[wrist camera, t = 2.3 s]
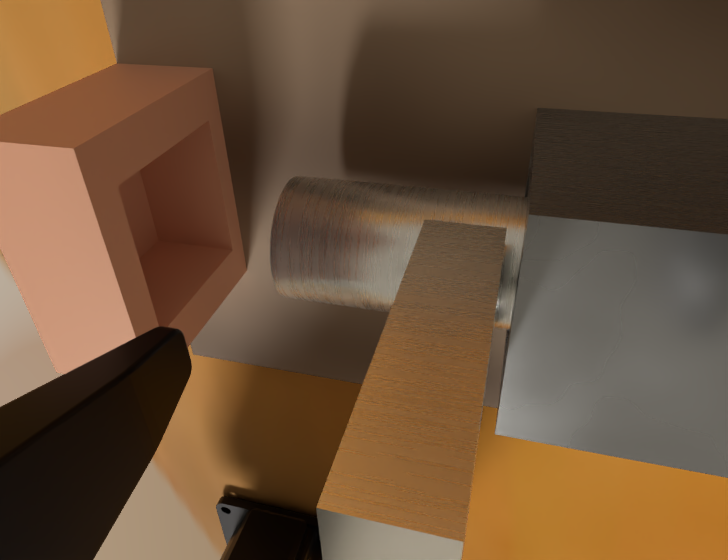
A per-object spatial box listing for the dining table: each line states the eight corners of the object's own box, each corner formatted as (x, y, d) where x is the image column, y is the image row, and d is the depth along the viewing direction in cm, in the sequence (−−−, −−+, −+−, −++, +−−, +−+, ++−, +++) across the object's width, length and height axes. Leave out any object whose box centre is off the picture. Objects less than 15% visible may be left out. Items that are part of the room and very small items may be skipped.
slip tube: (883, 199, 11) (1447, 769, 4) (816, 322, 13) (1130, 872, 6) (309, 152, 14) (52, 446, 7) (318, 259, 15) (122, 582, 8)
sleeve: (783, 327, 14) (871, 504, 10) (510, 291, 16) (495, 433, 12) (883, 128, 11) (1059, 268, 7) (537, 107, 13) (529, 214, 9)
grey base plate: (715, 421, 17) (722, 447, 17) (206, 336, 21) (193, 354, 21) (990, -161, 9) (1029, -164, 9) (96, -128, 13) (67, -128, 13)
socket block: (246, 270, 18) (153, 391, 14) (168, 259, 18) (56, 372, 14) (212, 67, 14) (73, 148, 10) (117, 63, 15) (-51, 137, 11)
